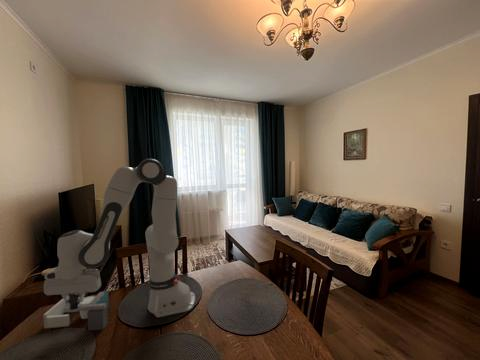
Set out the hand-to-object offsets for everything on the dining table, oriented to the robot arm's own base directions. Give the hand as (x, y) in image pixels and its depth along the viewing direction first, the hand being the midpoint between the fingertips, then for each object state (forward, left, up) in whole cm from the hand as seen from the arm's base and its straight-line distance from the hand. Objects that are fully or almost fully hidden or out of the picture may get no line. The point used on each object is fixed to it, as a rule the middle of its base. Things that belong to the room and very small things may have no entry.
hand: (74, 302), depth 88 cm
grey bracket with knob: (-4, -6, -11) cm, 13 cm away
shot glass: (0, -9, -12) cm, 15 cm away
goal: (+9, -9, -12) cm, 18 cm away
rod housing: (-9, 0, -12) cm, 15 cm away
